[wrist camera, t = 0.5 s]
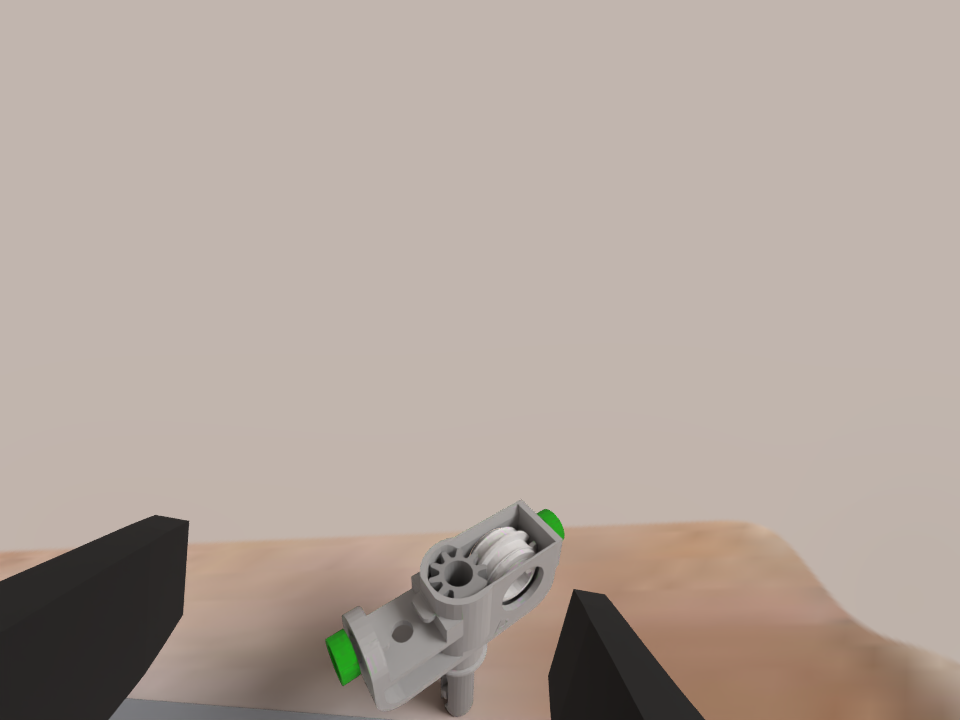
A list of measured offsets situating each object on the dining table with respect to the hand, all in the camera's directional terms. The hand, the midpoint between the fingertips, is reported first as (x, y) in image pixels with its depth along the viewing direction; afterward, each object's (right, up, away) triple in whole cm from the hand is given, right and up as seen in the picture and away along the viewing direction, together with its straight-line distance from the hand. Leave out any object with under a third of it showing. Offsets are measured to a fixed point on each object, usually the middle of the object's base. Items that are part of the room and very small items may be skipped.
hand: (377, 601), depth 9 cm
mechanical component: (+1, -12, +15) cm, 19 cm away
